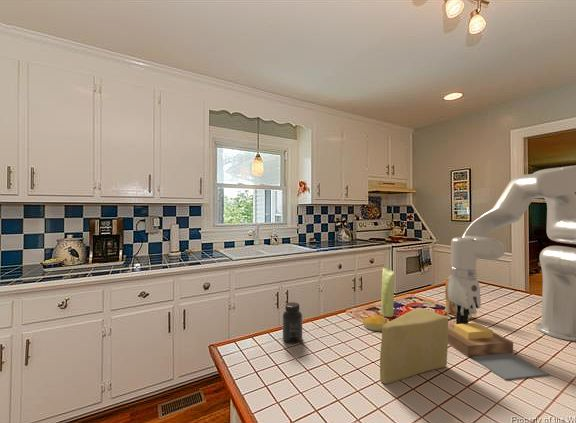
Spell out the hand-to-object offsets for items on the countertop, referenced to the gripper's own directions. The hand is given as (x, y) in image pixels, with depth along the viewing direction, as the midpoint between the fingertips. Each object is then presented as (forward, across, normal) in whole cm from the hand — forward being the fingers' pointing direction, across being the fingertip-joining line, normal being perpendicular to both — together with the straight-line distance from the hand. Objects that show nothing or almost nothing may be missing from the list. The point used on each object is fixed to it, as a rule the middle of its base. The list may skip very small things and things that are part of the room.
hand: (462, 325), depth 94 cm
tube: (+5, +22, +16) cm, 27 cm away
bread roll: (+5, +13, +26) cm, 29 cm away
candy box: (+5, +18, -14) cm, 23 cm away
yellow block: (+1, -5, 0) cm, 5 cm away
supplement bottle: (+5, +7, +59) cm, 60 cm away
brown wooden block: (+4, -4, 0) cm, 6 cm away
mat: (+4, -17, 0) cm, 17 cm away
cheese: (+5, -15, +29) cm, 33 cm away
